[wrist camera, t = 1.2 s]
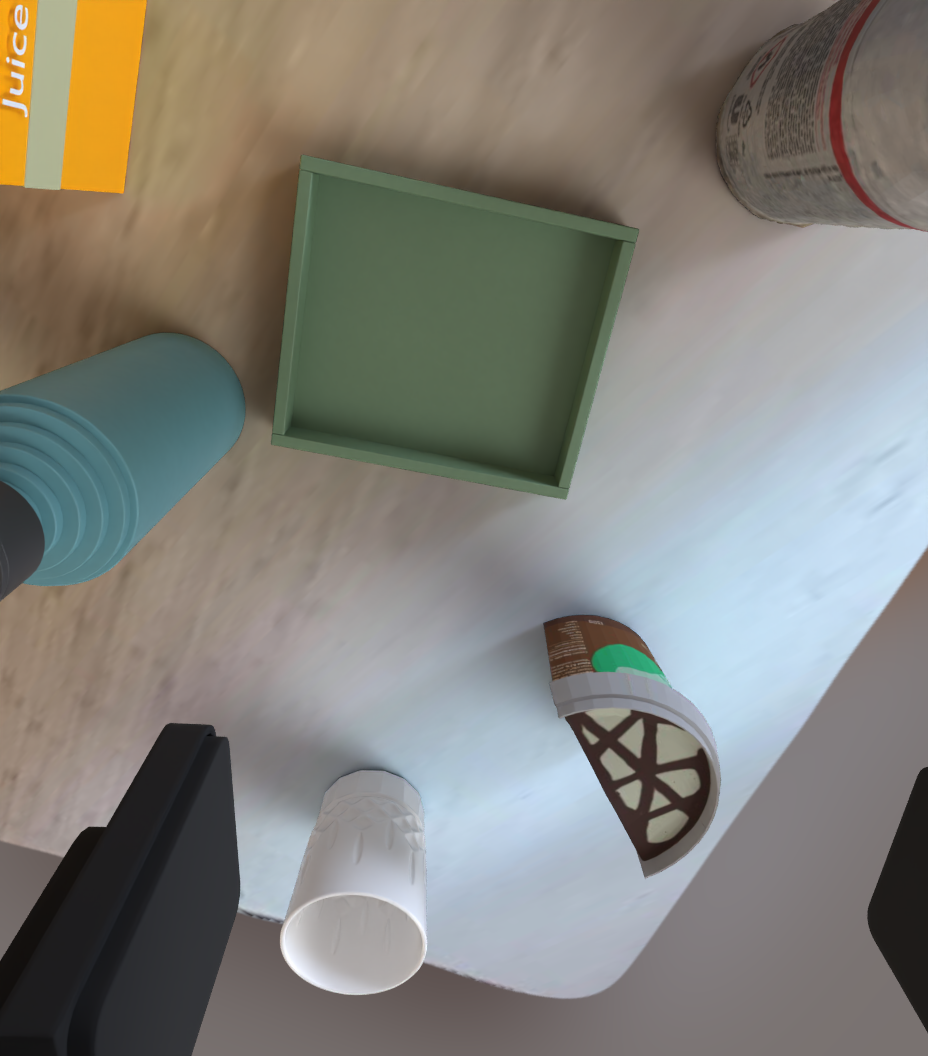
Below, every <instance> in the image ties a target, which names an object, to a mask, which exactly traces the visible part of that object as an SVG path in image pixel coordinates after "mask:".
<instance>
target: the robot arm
mask: <svg viewBox="0 0 928 1056" xmlns="http://www.w3.org/2000/svg"><path fill="white" fill-rule="evenodd" d="M239 897H240V874H239V862H238V849H237V836H236V823H235V811H234V798H233V785H232V773H231V760H230V747H229V741H228V738H227V737H216V732H215V729H214V727H213V726H212V725H201V724H178V723H169V724H167V725H166V726H165V727H164V728H163V730H162V731H161V733H160V735H159V737H158V738H157V740H156V742H155V744H154V745H153V747H152V749H151V750H150V752H149V754H148V756H147V757H146V759H145V761H144V763H143V764H142V766H141V768H140V769H139V771H138V773H137V775H136V776H135V778H134V780H133V782H132V783H131V785H130V787H129V789H128V790H127V792H126V794H125V795H124V797H123V799H122V801H121V802H120V804H119V806H118V808H117V809H116V811H115V813H114V815H113V816H112V818H111V820H110V821H109V823H108V825H107V827H88V828H86V829H85V830H84V831H82V832H81V833H80V834H79V836H78V837H77V838H76V840H75V841H74V842H73V844H72V845H71V847H70V849H69V850H68V852H67V853H66V855H65V857H64V858H63V860H62V862H61V863H60V865H59V866H58V868H57V870H56V872H55V873H54V875H53V876H52V878H51V879H50V881H49V883H48V884H47V886H46V888H45V889H44V891H43V893H42V894H41V896H40V897H39V899H38V901H37V902H36V904H35V906H34V907H33V909H32V910H31V912H30V914H29V915H28V917H27V918H26V920H25V922H24V923H23V925H22V927H21V928H20V930H19V932H18V933H17V935H16V936H15V938H14V940H13V941H12V943H11V945H10V946H9V948H8V949H7V951H6V953H5V954H4V956H3V957H2V959H1V961H0V1056H191V1055H192V1052H193V1049H194V1046H195V1043H196V1039H197V1036H198V1033H199V1030H200V1027H201V1024H202V1021H203V1017H204V1014H205V1011H206V1008H207V1005H208V1002H209V999H210V995H211V992H212V989H213V986H214V983H215V979H216V976H217V973H218V970H219V967H220V964H221V961H222V958H223V954H224V951H225V948H226V945H227V942H228V939H229V936H230V932H231V929H232V926H233V923H234V920H235V917H236V913H237V909H238V904H239ZM868 925H869V928H870V932H871V934H872V936H873V938H874V941H875V942H876V944H877V946H878V947H879V949H880V951H881V952H882V954H883V956H884V958H885V960H886V961H887V963H888V965H889V966H890V968H891V970H892V972H893V973H894V975H895V977H896V979H897V980H898V982H899V984H900V985H901V987H902V989H903V991H904V992H905V994H906V996H907V998H908V999H909V1001H910V1003H911V1005H912V1006H913V1008H914V1010H915V1012H916V1013H917V1015H918V1017H919V1018H920V1020H921V1022H922V1023H923V1025H924V1027H925V1029H926V1031H927V1032H928V767H926V768H923V769H922V770H921V771H920V772H919V774H918V776H917V779H916V782H915V784H914V787H913V790H912V792H911V795H910V797H909V800H908V803H907V805H906V808H905V811H904V813H903V816H902V819H901V821H900V824H899V827H898V829H897V832H896V835H895V837H894V840H893V843H892V845H891V848H890V851H889V853H888V856H887V859H886V862H885V864H884V867H883V869H882V872H881V875H880V878H879V880H878V883H877V886H876V888H875V891H874V893H873V896H872V899H871V902H870V904H869V907H868Z"/></svg>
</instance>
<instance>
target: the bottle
mask: <svg viewBox="0 0 928 1056" xmlns="http://www.w3.org/2000/svg"><path fill="white" fill-rule="evenodd" d="M244 420H245V398H244V394H243V390H242V387H241V384H240V382H239V379H238V378H237V376H236V374H235V372H234V370H233V369H232V368H231V366H230V365H229V363H228V362H227V361H226V360H225V359H224V358H223V357H222V356H221V355H220V354H219V353H218V352H217V351H216V350H214V349H213V348H211V347H210V346H209V345H207V344H205V343H203V342H202V341H200V340H198V339H195V338H193V337H190V336H186V335H183V334H177V333H157V334H151V335H148V336H144V337H142V338H139V339H136V340H134V341H131V342H129V343H126V344H123V345H121V346H118V347H115V348H113V349H110V350H107V351H105V352H102V353H99V354H97V355H94V356H91V357H89V358H86V359H84V360H81V361H78V362H76V363H73V364H70V365H68V366H65V367H62V368H60V369H57V370H54V371H52V372H49V373H47V374H44V375H41V376H39V377H36V378H33V379H31V380H28V381H25V382H23V383H20V384H17V385H15V386H12V387H10V388H7V389H4V390H2V391H0V481H3V482H4V483H6V484H8V485H9V486H11V487H12V488H13V489H15V490H16V491H17V492H19V493H20V494H21V495H22V496H23V497H24V498H25V499H26V500H27V501H28V503H29V504H30V505H31V506H32V508H33V509H34V511H35V512H36V514H37V516H38V518H39V520H40V522H41V525H42V527H43V532H44V537H45V550H44V555H43V558H42V561H41V563H40V565H39V567H38V568H37V570H36V571H35V572H34V573H33V574H32V575H31V576H30V577H29V578H28V579H26V580H25V581H24V582H23V583H25V584H29V585H38V586H64V585H72V584H78V583H82V582H86V581H89V580H91V579H94V578H96V577H99V576H100V575H102V574H104V573H106V572H107V571H109V570H110V569H111V568H113V567H114V566H115V565H116V564H117V563H118V562H119V561H120V560H121V559H122V558H123V557H124V556H125V555H126V554H127V553H128V552H129V551H130V550H131V549H132V548H133V547H134V546H135V545H136V544H137V543H138V542H139V541H140V540H141V539H142V538H143V537H144V536H145V535H146V534H147V533H148V532H149V531H150V530H151V529H152V528H153V527H154V526H155V525H156V524H157V523H158V522H159V521H160V520H161V519H162V518H163V517H164V516H165V515H166V514H167V513H168V512H169V511H170V510H171V509H172V508H173V507H174V506H175V504H176V503H177V502H178V501H179V500H180V499H181V498H182V497H183V496H184V495H185V494H186V493H187V492H188V491H189V490H190V489H191V488H192V487H193V486H194V485H195V484H196V483H197V482H198V481H199V480H200V479H201V478H202V477H203V476H204V475H205V474H206V473H207V472H208V471H209V470H210V469H211V468H212V467H213V466H214V465H215V464H216V463H217V462H218V461H219V460H220V459H221V458H222V457H223V456H224V455H225V454H226V453H227V452H228V451H229V450H230V448H231V447H232V446H233V445H234V444H235V442H236V441H237V439H238V438H239V435H240V433H241V431H242V428H243V425H244Z"/></svg>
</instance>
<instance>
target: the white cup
mask: <svg viewBox="0 0 928 1056" xmlns="http://www.w3.org/2000/svg"><path fill="white" fill-rule="evenodd" d="M280 947H281V951H282V954H283V956H284V958H285V960H286V962H287V963H288V965H289V966H290V967H291V969H292V970H293V971H294V972H295V973H296V974H297V975H298V976H300V977H301V978H302V979H304V980H305V981H307V982H309V983H310V984H312V985H315V986H317V987H319V988H322V989H325V990H327V991H331V992H335V993H340V994H350V995H365V994H373V993H378V992H382V991H386V990H389V989H392V988H394V987H396V986H398V985H400V984H402V983H404V982H405V981H407V980H408V979H409V978H410V977H412V976H413V974H415V973H416V972H417V971H418V969H419V968H420V966H421V965H422V963H423V961H424V959H425V956H426V952H427V868H426V843H425V835H424V809H423V805H422V802H421V798H420V795H419V793H418V792H417V791H416V790H415V789H414V788H413V787H412V786H411V785H410V784H409V783H408V782H407V781H406V780H405V779H404V778H401V777H399V776H396V775H394V774H391V773H388V772H386V771H379V770H360V771H357V772H354V773H351V774H349V775H346V776H343V777H341V778H339V779H338V780H337V781H336V782H335V783H334V784H333V785H332V786H331V787H330V788H329V789H328V790H327V791H326V793H325V795H324V799H323V802H322V806H321V809H320V813H319V816H318V819H317V822H316V825H315V827H314V829H313V830H312V833H311V836H310V839H309V841H308V844H307V847H306V850H305V853H304V857H303V860H302V863H301V867H300V870H299V873H298V877H297V880H296V883H295V887H294V890H293V893H292V897H291V900H290V903H289V907H288V910H287V913H286V917H285V920H284V923H283V927H282V930H281V934H280Z"/></svg>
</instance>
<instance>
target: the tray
mask: <svg viewBox="0 0 928 1056" xmlns="http://www.w3.org/2000/svg"><path fill="white" fill-rule="evenodd" d="M300 169H301V170H299V177H298V187H297V197H296V206H295V216H294V226H293V236H292V245H291V255H290V265H289V275H288V284H287V294H286V304H285V313H284V323H283V333H282V343H281V352H280V362H279V372H278V382H277V391H276V401H275V411H274V421H273V430H272V432H273V433H272V440H271V444H272V445H276V446H282V447H287V448H292V449H298V450H303V451H308V452H314V453H319V454H325V455H330V456H335V457H341V458H346V459H351V460H357V461H362V462H367V463H373V464H378V465H383V466H389V467H394V468H399V469H405V470H410V471H415V472H421V473H426V474H431V475H437V476H442V477H447V478H453V479H458V480H464V481H469V482H474V483H480V484H485V485H490V486H496V487H501V488H506V489H512V490H517V491H522V492H528V493H533V494H538V495H544V496H549V497H554V498H560V499H565V500H566V499H567V495H568V492H569V488H570V484H571V480H572V477H573V473H574V469H575V465H576V462H577V458H578V454H579V451H580V447H581V443H582V440H583V436H584V432H585V429H586V425H587V421H588V418H589V414H590V410H591V406H592V403H593V399H594V395H595V392H596V388H597V384H598V381H599V377H600V373H601V370H602V366H603V362H604V358H605V355H606V351H607V347H608V344H609V340H610V336H611V333H612V329H613V325H614V322H615V318H616V314H617V311H618V307H619V303H620V299H621V296H622V292H623V288H624V285H625V281H626V277H627V274H628V270H629V266H630V263H631V259H632V255H633V251H634V248H635V242H636V240H637V237H638V233H639V229H637V228H633V227H628V226H624V225H619V224H615V223H610V222H606V221H601V220H596V219H592V218H587V217H583V216H578V215H574V214H569V213H565V212H560V211H556V210H551V209H547V208H542V207H538V206H533V205H528V204H524V203H519V202H515V201H510V200H506V199H501V198H497V197H492V196H488V195H483V194H479V193H474V192H470V191H465V190H460V189H456V188H451V187H447V186H442V185H438V184H433V183H429V182H424V181H420V180H415V179H411V178H406V177H402V176H397V175H392V174H388V173H383V172H379V171H374V170H370V169H365V168H361V167H356V166H352V165H347V164H343V163H338V162H334V161H329V160H324V159H320V158H315V157H311V156H306V155H301V158H300Z"/></svg>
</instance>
